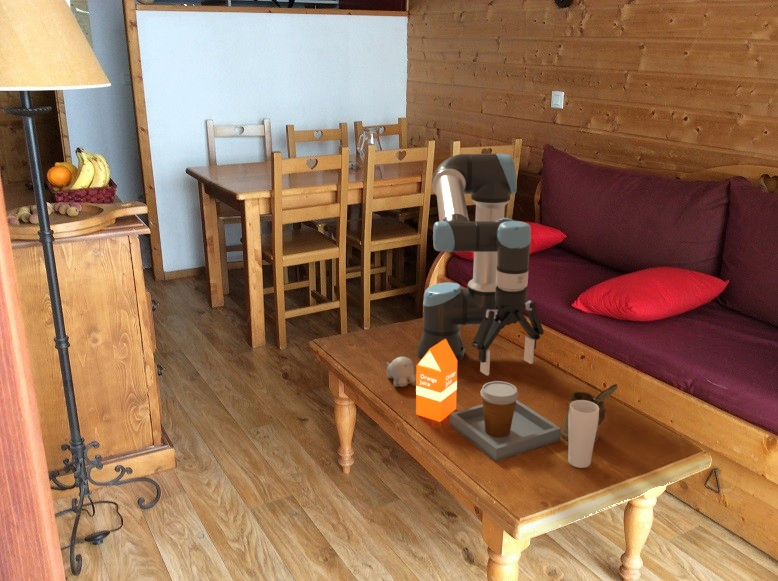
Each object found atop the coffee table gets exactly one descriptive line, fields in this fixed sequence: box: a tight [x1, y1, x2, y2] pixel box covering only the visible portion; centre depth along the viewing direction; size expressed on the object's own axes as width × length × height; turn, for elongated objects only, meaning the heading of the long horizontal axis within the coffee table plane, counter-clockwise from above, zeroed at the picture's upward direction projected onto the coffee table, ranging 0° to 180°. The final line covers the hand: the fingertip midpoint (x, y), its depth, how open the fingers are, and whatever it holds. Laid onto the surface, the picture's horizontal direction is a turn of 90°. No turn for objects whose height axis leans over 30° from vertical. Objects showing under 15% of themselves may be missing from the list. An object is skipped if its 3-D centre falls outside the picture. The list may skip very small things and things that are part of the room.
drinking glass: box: [567, 400, 599, 469], centre depth 164 cm, size 7×7×15 cm
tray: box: [449, 399, 562, 463], centre depth 179 cm, size 20×20×4 cm
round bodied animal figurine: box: [386, 356, 416, 388], centre depth 207 cm, size 7×12×8 cm, turn 30°
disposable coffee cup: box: [479, 380, 520, 437], centre depth 176 cm, size 10×10×12 cm
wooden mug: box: [560, 383, 618, 443], centre depth 173 cm, size 9×14×18 cm, turn 37°
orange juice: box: [415, 339, 458, 423], centre depth 187 cm, size 8×9×20 cm
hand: (506, 367), depth 174 cm, fingers open, 13 cm apart
